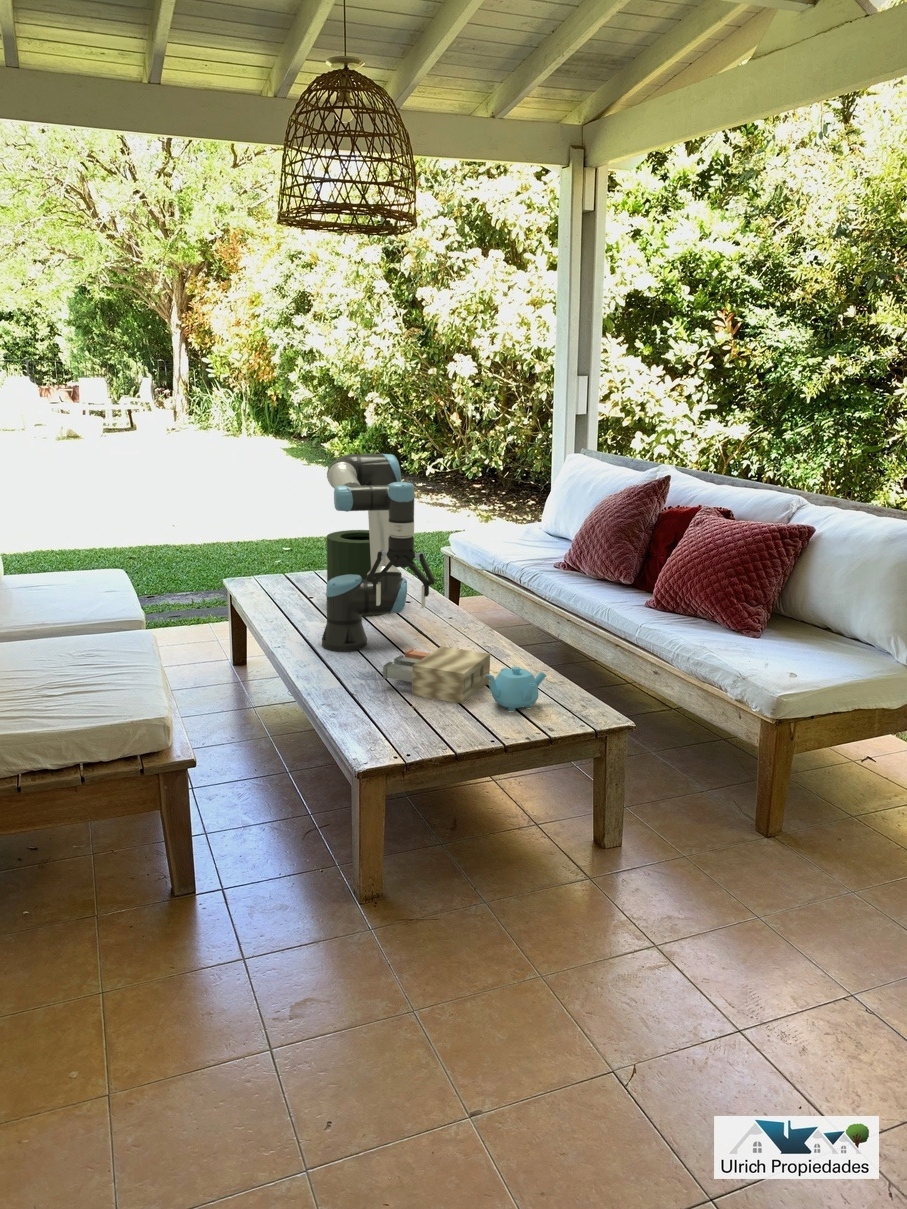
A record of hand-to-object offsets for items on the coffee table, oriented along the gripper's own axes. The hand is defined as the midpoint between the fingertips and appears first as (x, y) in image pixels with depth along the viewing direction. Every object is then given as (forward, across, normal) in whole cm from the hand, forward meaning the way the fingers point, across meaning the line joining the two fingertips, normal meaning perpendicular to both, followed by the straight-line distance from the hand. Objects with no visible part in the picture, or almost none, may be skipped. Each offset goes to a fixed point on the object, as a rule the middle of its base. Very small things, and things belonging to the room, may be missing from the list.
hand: (400, 605), depth 286 cm
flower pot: (+22, -29, +74) cm, 82 cm away
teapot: (+23, +36, -19) cm, 47 cm away
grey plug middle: (+19, +8, -5) cm, 21 cm away
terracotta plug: (+19, +10, +2) cm, 22 cm away
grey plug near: (+19, +6, -12) cm, 23 cm away
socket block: (+22, +17, -8) cm, 29 cm away
